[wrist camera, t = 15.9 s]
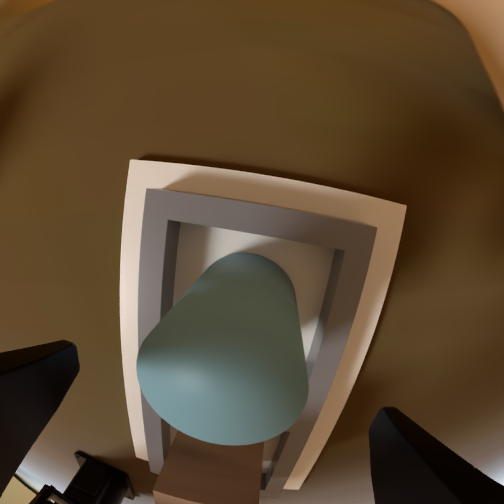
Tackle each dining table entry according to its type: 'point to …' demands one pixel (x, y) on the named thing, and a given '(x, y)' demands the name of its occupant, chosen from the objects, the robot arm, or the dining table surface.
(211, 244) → the tray
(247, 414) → the teal cylinder
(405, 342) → the dining table surface
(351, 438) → the dining table surface
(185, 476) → the walnut block
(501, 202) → the dining table surface
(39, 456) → the dining table surface
